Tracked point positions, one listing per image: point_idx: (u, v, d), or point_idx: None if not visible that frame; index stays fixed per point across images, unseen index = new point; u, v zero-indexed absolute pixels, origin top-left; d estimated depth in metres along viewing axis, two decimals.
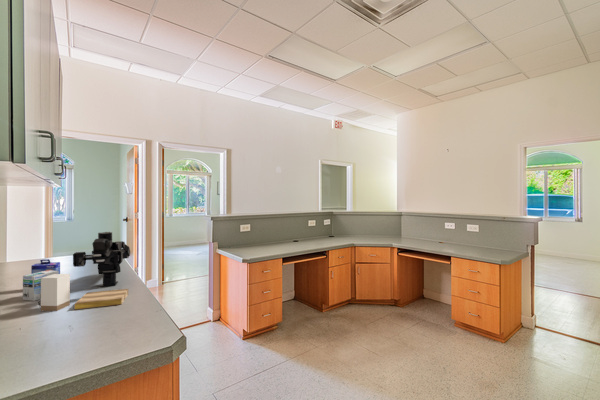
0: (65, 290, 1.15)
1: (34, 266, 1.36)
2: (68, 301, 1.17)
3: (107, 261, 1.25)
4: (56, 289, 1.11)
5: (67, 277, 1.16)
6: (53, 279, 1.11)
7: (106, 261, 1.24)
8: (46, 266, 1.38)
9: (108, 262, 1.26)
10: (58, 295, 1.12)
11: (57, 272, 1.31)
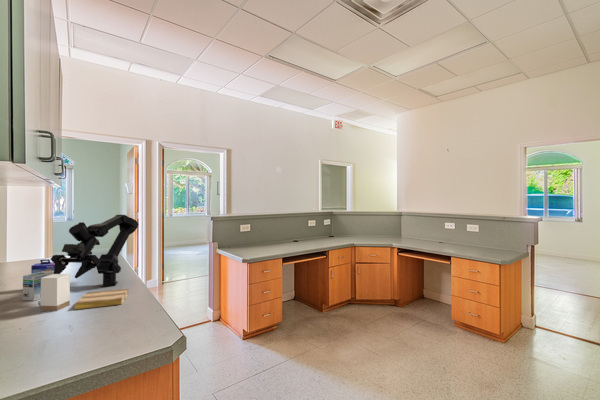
0: (65, 290, 1.15)
1: (34, 266, 1.36)
2: (68, 301, 1.17)
3: (79, 274, 1.20)
4: (56, 289, 1.11)
5: (67, 277, 1.16)
6: (53, 279, 1.11)
7: (77, 275, 1.19)
8: (46, 266, 1.38)
9: (81, 274, 1.20)
10: (58, 295, 1.12)
11: None
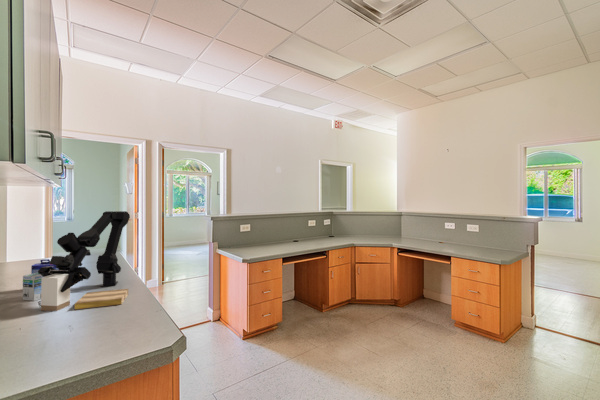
0: None
1: (34, 266, 1.36)
2: (68, 301, 1.16)
3: (66, 288, 1.14)
4: (56, 289, 1.11)
5: (67, 277, 1.16)
6: (53, 279, 1.11)
7: (64, 289, 1.13)
8: (46, 266, 1.38)
9: (68, 287, 1.15)
10: (58, 295, 1.12)
11: None
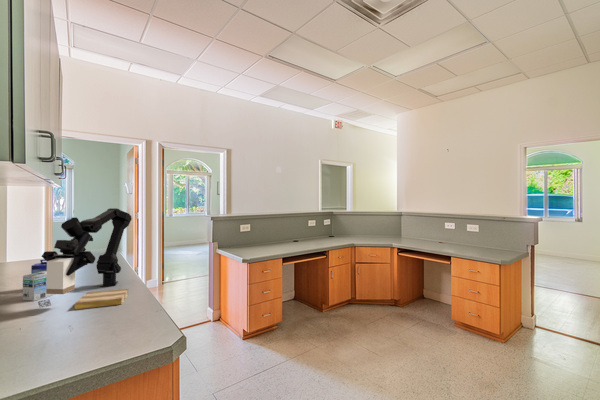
0: (71, 274, 1.15)
1: (34, 266, 1.36)
2: (73, 285, 1.17)
3: (71, 271, 1.15)
4: (62, 273, 1.12)
5: (72, 261, 1.16)
6: (59, 263, 1.11)
7: (69, 273, 1.14)
8: (46, 266, 1.38)
9: (73, 271, 1.16)
10: (64, 279, 1.12)
11: None
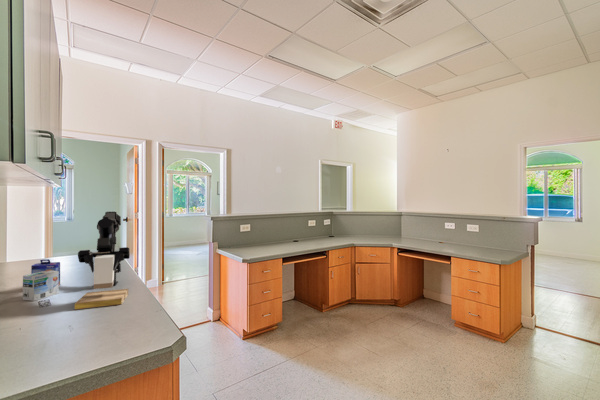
0: None
1: (34, 266, 1.36)
2: (113, 279, 1.26)
3: (115, 266, 1.24)
4: (112, 267, 1.21)
5: (114, 257, 1.25)
6: (109, 258, 1.20)
7: (115, 267, 1.23)
8: (46, 266, 1.38)
9: (116, 266, 1.25)
10: (112, 273, 1.21)
11: (57, 272, 1.31)
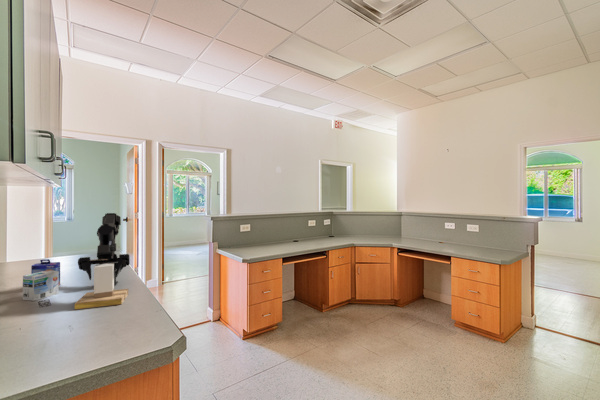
0: (113, 277, 1.24)
1: (34, 266, 1.36)
2: (113, 288, 1.26)
3: (118, 273, 1.24)
4: (111, 276, 1.21)
5: (113, 265, 1.25)
6: (108, 267, 1.20)
7: (117, 274, 1.24)
8: (46, 266, 1.38)
9: (118, 272, 1.25)
10: (112, 282, 1.22)
11: (57, 272, 1.31)
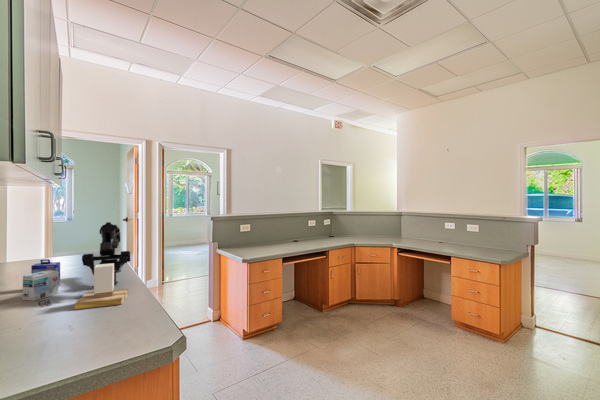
0: (113, 278, 1.24)
1: (34, 266, 1.36)
2: (113, 288, 1.26)
3: (119, 269, 1.32)
4: (111, 276, 1.21)
5: (113, 265, 1.25)
6: (108, 267, 1.20)
7: (119, 270, 1.32)
8: (46, 266, 1.38)
9: (120, 268, 1.33)
10: (112, 282, 1.22)
11: (57, 272, 1.31)
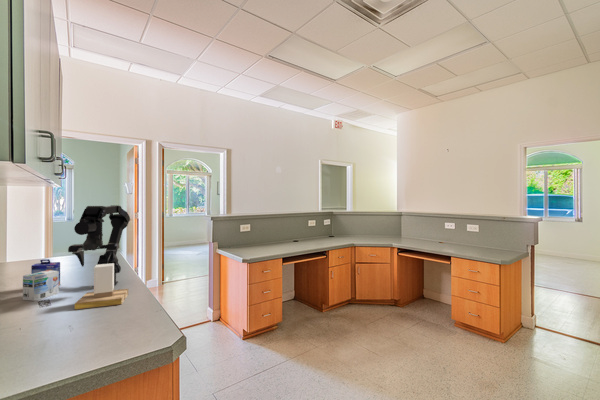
0: (113, 278, 1.24)
1: (34, 266, 1.36)
2: (113, 288, 1.26)
3: (108, 261, 1.34)
4: (111, 276, 1.21)
5: (113, 265, 1.25)
6: (108, 267, 1.20)
7: (107, 262, 1.34)
8: (46, 266, 1.38)
9: (108, 259, 1.35)
10: (112, 282, 1.22)
11: (57, 272, 1.31)
